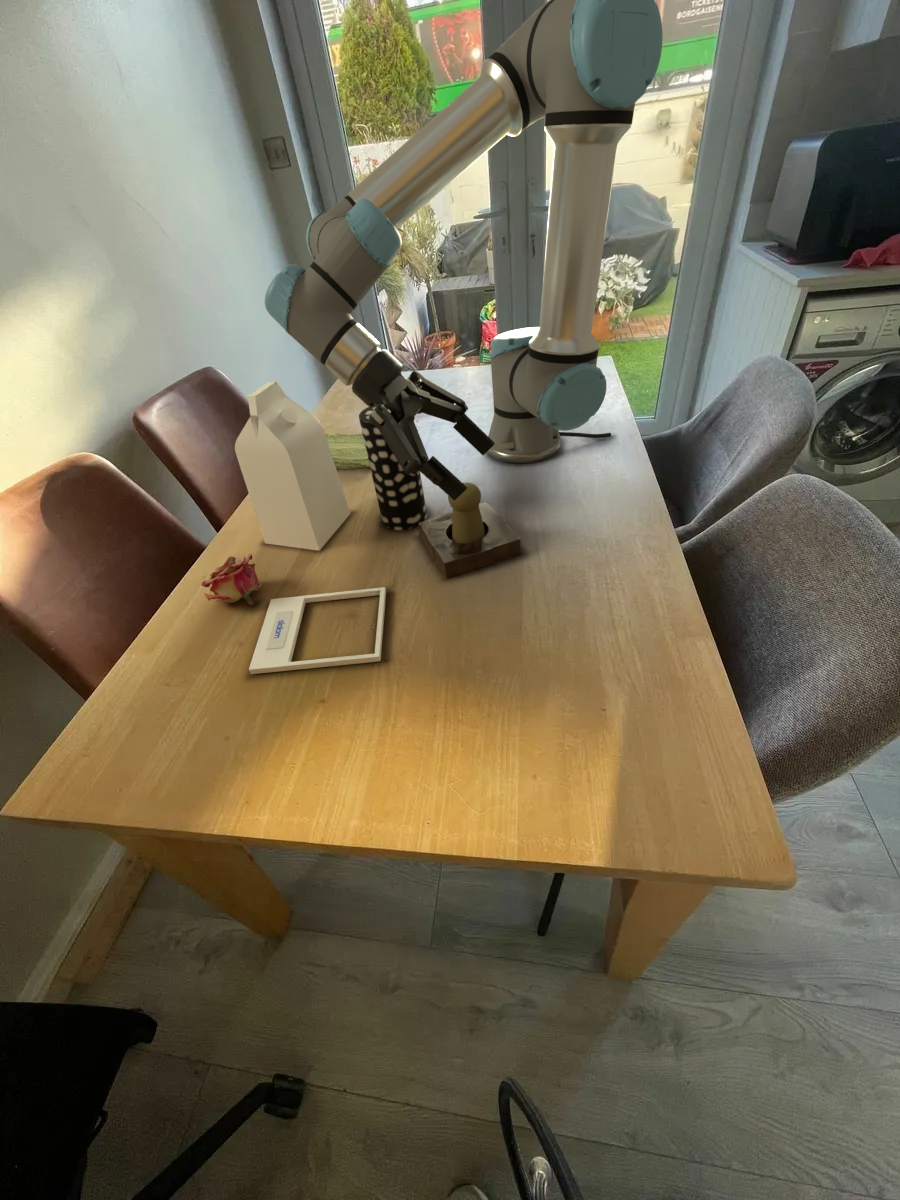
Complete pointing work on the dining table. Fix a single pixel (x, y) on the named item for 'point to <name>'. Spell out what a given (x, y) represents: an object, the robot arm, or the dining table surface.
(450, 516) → the ring plate
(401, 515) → the spotted tube
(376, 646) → the photo frame
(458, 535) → the wooden peg doll
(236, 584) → the flower
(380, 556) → the dining table surface
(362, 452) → the washcloth
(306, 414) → the milk
